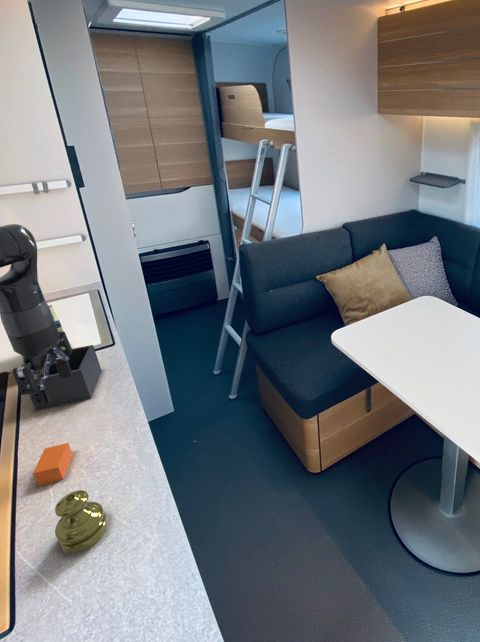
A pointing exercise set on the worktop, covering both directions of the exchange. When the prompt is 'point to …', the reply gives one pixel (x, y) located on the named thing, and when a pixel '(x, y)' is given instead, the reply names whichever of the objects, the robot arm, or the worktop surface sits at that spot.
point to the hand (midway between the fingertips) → (56, 389)
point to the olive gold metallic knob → (79, 522)
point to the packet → (53, 464)
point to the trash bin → (72, 379)
